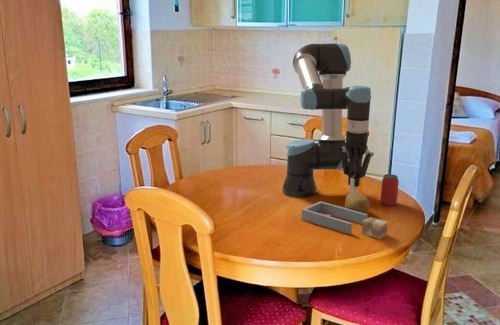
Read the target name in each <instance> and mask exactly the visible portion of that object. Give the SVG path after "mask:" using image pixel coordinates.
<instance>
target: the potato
mask: <svg viewBox="0 0 500 325" xmlns="http://www.w3.org/2000/svg"><path fill="white" fill-rule="evenodd" d="M344 204H345V205H344V206H345V208H347V209H350V210H354V211H357V212H361V213H364V214H368V213H369V210H370V208H371V203H370V199H369V198H368V197H367V195H365V194H363V193H360V192H359V191H357V194H356V195H354V196H352V195H349V193H348V194H346V198H345V202H344Z"/></svg>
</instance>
